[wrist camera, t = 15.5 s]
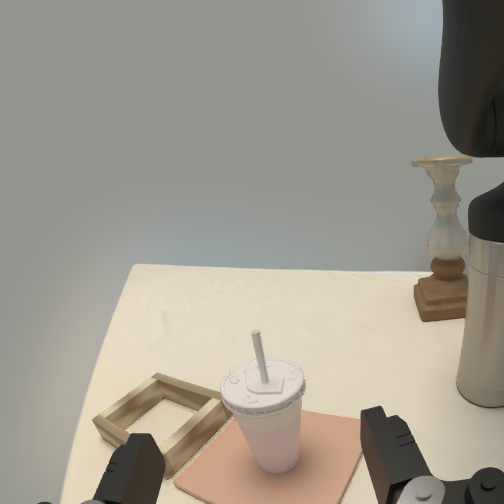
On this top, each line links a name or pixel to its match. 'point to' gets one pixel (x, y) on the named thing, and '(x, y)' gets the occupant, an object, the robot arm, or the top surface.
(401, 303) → the top surface
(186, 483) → the tile
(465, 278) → the candle holder
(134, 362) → the top surface
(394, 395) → the top surface
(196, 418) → the square wooden tray
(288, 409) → the smoothie
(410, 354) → the top surface
